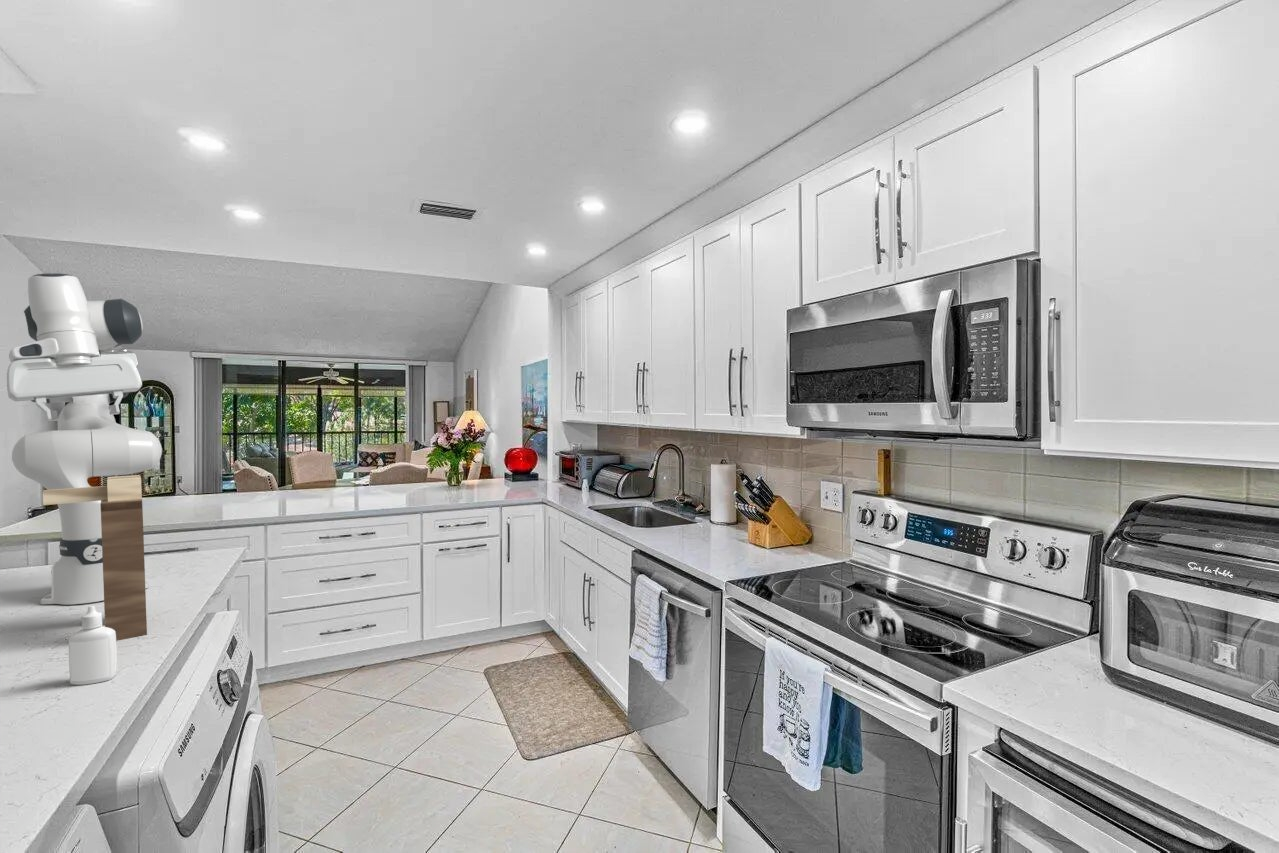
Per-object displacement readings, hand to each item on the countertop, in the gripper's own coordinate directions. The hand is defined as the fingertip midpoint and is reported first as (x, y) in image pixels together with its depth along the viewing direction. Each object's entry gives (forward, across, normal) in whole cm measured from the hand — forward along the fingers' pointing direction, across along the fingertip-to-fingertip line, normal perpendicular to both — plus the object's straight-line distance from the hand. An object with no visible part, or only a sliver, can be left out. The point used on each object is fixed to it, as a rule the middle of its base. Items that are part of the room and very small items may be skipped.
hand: (85, 417), depth 124 cm
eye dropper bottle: (+48, +9, +28) cm, 56 cm away
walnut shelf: (+43, +1, +2) cm, 43 cm away
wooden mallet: (+17, +2, +7) cm, 19 cm away
